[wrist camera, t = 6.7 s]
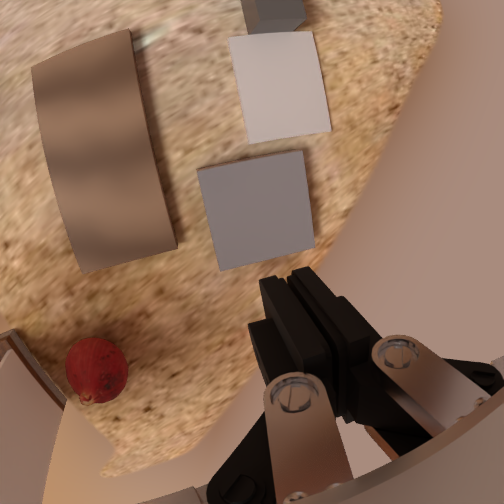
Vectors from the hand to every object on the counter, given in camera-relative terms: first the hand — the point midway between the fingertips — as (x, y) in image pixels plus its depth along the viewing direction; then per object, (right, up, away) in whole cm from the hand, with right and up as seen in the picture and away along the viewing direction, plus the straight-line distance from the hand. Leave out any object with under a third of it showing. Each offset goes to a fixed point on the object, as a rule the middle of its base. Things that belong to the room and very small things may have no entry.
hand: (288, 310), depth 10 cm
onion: (-16, -7, +17) cm, 24 cm away
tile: (-5, +4, +14) cm, 15 cm away
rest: (-13, +10, +11) cm, 19 cm away
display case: (-30, -13, +16) cm, 36 cm away
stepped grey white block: (0, +19, +10) cm, 22 cm away
